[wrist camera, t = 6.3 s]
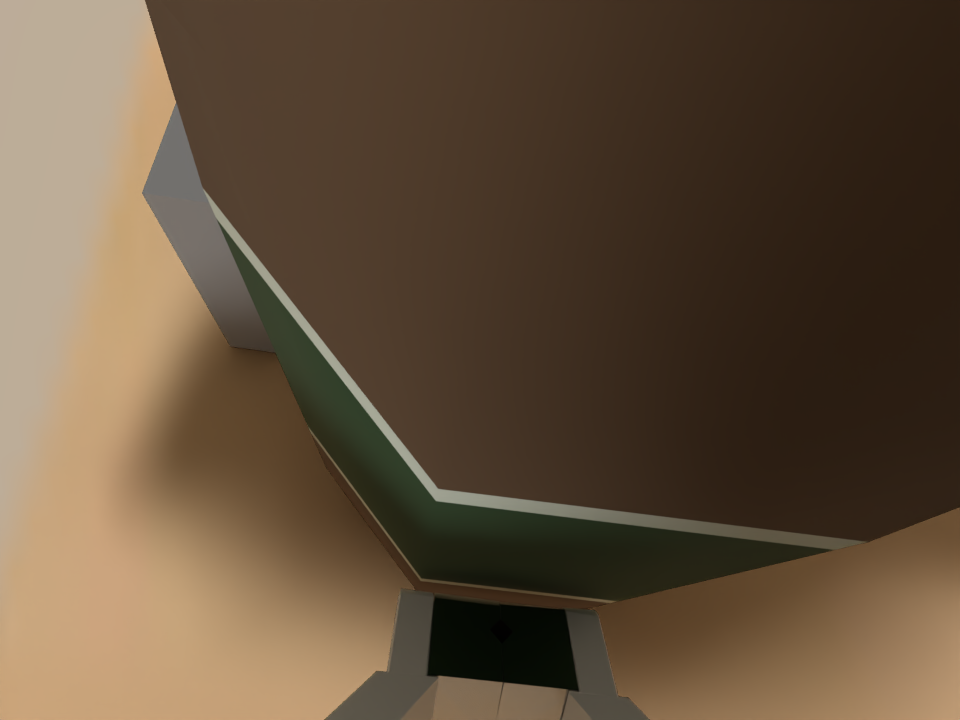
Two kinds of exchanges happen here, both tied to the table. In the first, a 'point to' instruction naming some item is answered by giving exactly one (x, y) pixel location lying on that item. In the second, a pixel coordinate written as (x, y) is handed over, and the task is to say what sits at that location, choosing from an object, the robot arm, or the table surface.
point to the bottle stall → (201, 239)
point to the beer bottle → (597, 271)
